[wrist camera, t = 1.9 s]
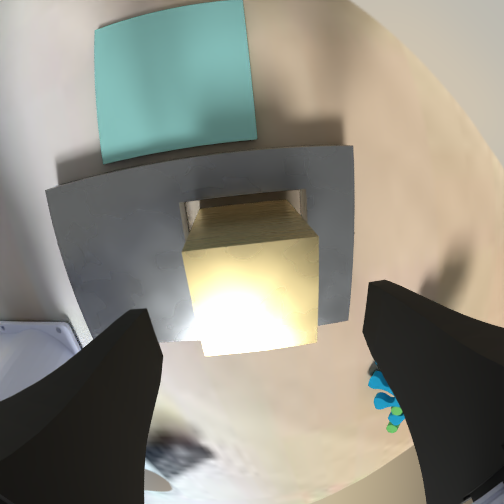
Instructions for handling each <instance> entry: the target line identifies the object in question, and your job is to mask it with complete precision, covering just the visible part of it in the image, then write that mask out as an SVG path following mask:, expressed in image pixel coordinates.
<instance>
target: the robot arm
mask: <svg viewBox="0 0 504 504" xmlns="http://www.w3.org/2000/svg"><path fill="white" fill-rule="evenodd" d="M59 328H60V329H61V330H60V329H59ZM362 332H363V334H364V337H365V340H366V342H367V345H368V347H369V350H370V352H371V355H372V357H373V358H374V360H375V362H376V364H377V366H378V367H379V369H380V371H381V373H382V375H383V376H384V378H385V380H386V382H387V383H388V385H389V387H390V389H391V391H392V392H393V394H394V396H395V398H396V400H397V402H398V403H399V405H400V408H401V410H402V412H403V414H404V417H405V419H406V422H407V425H408V427H409V430H410V433H411V436H412V439H413V442H414V446H415V449H416V452H417V456H418V460H419V464H420V467H421V472H422V477H423V481H424V488H425V495H426V502H427V504H463V503H465V502H466V501H468V500H469V499H471V498H472V500H473V503H472V504H504V328H502V327H498V326H495V325H491V324H488V323H485V322H482V321H479V320H476V319H473V318H471V317H468V316H466V315H463V314H461V313H458V312H456V311H454V310H451V309H449V308H447V307H444V306H442V305H440V304H438V303H436V302H434V301H431V300H429V299H427V298H425V297H423V296H421V295H419V294H417V293H415V292H413V291H410V290H408V289H406V288H404V287H402V286H400V285H397V284H395V283H392V282H390V281H387V280H381V281H375V282H369V286H368V295H367V303H366V311H365V318H364V325H363V331H362ZM162 363H163V354H162V351H161V348H160V346H159V343H158V340H157V337H156V334H155V331H154V328H153V325H152V322H151V319H150V316H149V313H148V310H147V308H143V309H130V310H129V311H127V312H126V313H124V314H123V315H122V316H120V317H119V318H118V319H117V320H116V321H114V322H113V323H112V324H111V325H110V326H109V327H107V328H106V329H105V330H104V331H103V332H102V333H100V334H99V335H98V336H97V337H96V338H95V339H93V340H92V341H91V342H90V343H89V344H88V345H86V346H85V347H84V348H83V349H81V348H80V346H79V344H78V342H77V340H76V338H75V336H74V334H73V332H72V329H71V327H70V326H69V325H68V324H67V323H66V322H17V321H0V504H144V468H145V454H146V444H147V438H148V433H149V428H150V424H151V420H152V415H153V411H154V407H155V403H156V399H157V394H158V390H159V386H160V381H161V373H162Z"/></svg>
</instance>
